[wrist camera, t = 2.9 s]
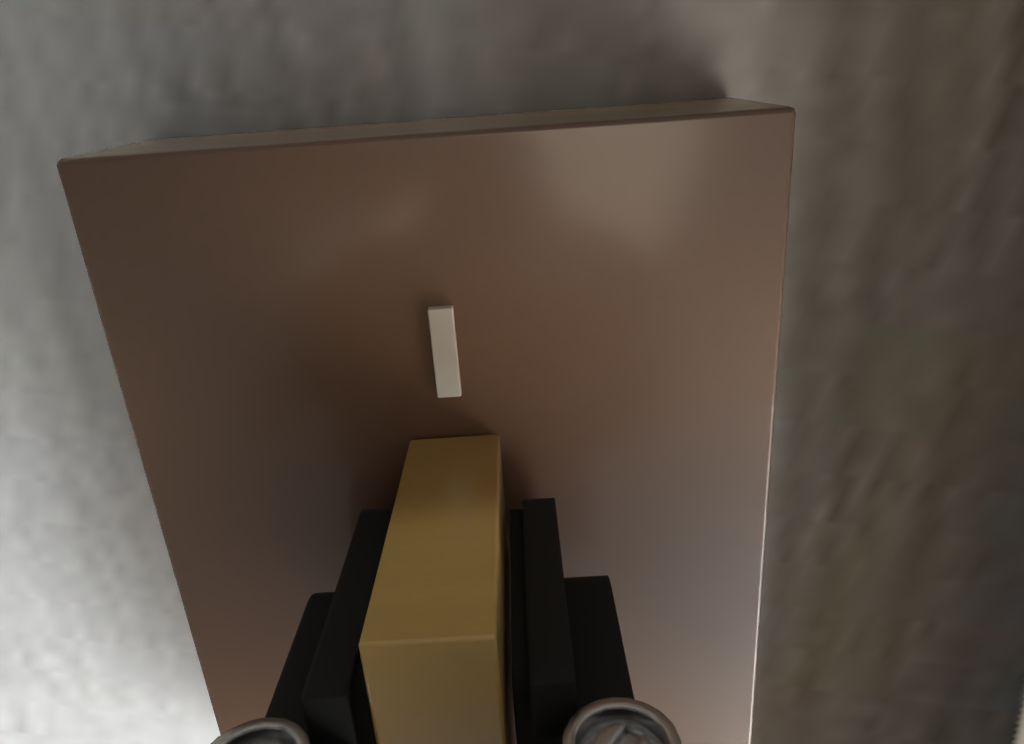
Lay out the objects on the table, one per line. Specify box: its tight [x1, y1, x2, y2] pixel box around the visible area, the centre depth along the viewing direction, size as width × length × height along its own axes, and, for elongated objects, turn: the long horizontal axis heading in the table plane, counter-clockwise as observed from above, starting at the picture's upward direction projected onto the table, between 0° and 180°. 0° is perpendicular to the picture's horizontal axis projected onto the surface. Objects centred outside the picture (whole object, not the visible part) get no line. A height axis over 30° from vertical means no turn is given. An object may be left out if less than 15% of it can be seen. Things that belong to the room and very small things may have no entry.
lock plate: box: [57, 98, 796, 744], centre depth 14 cm, size 14×10×3 cm
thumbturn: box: [359, 435, 517, 744], centre depth 10 cm, size 5×1×5 cm, turn 4°
